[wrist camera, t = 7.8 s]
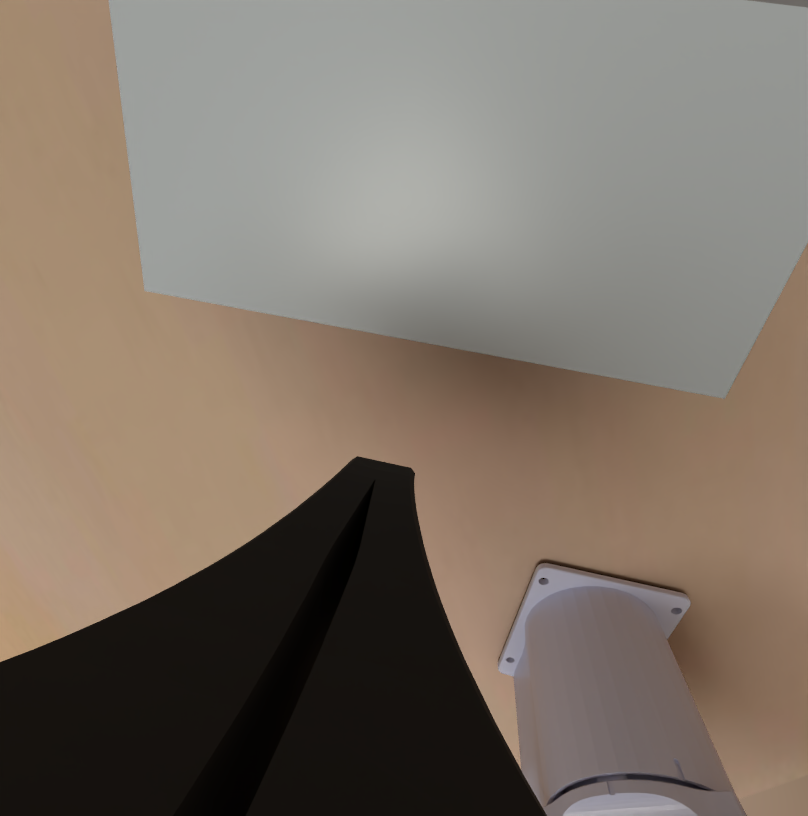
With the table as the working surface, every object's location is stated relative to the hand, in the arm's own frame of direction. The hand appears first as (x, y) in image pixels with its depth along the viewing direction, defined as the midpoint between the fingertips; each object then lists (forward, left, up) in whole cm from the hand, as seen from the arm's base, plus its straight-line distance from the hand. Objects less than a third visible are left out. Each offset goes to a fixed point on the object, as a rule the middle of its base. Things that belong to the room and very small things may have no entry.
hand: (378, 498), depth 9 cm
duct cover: (+7, 0, -7) cm, 10 cm away
